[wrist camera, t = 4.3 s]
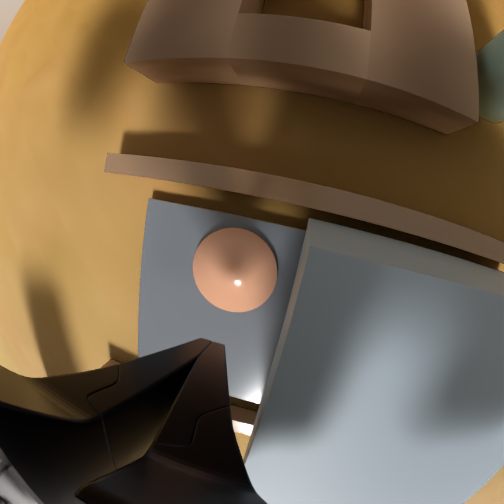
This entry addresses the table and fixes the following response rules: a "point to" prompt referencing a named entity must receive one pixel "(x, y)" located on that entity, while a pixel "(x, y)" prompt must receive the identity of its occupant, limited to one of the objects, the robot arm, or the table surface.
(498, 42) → the teal peg
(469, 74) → the board
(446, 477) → the cover
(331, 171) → the table surface
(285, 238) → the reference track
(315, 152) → the table surface
